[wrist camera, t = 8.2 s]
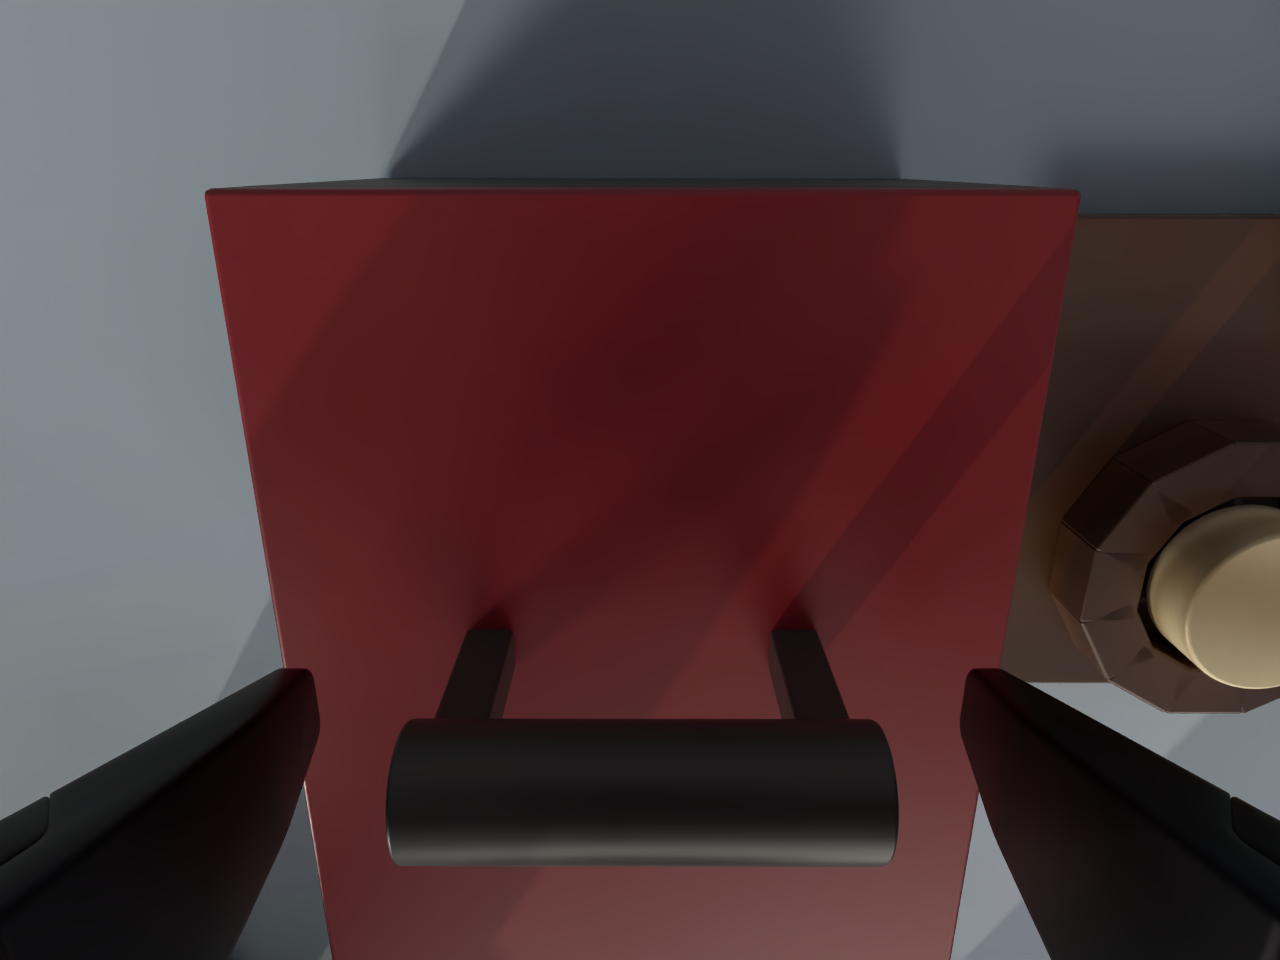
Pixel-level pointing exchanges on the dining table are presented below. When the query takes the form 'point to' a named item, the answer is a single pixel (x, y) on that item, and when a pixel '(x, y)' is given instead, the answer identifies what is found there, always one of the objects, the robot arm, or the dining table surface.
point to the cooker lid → (641, 549)
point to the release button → (1223, 594)
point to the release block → (1146, 443)
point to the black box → (631, 183)
